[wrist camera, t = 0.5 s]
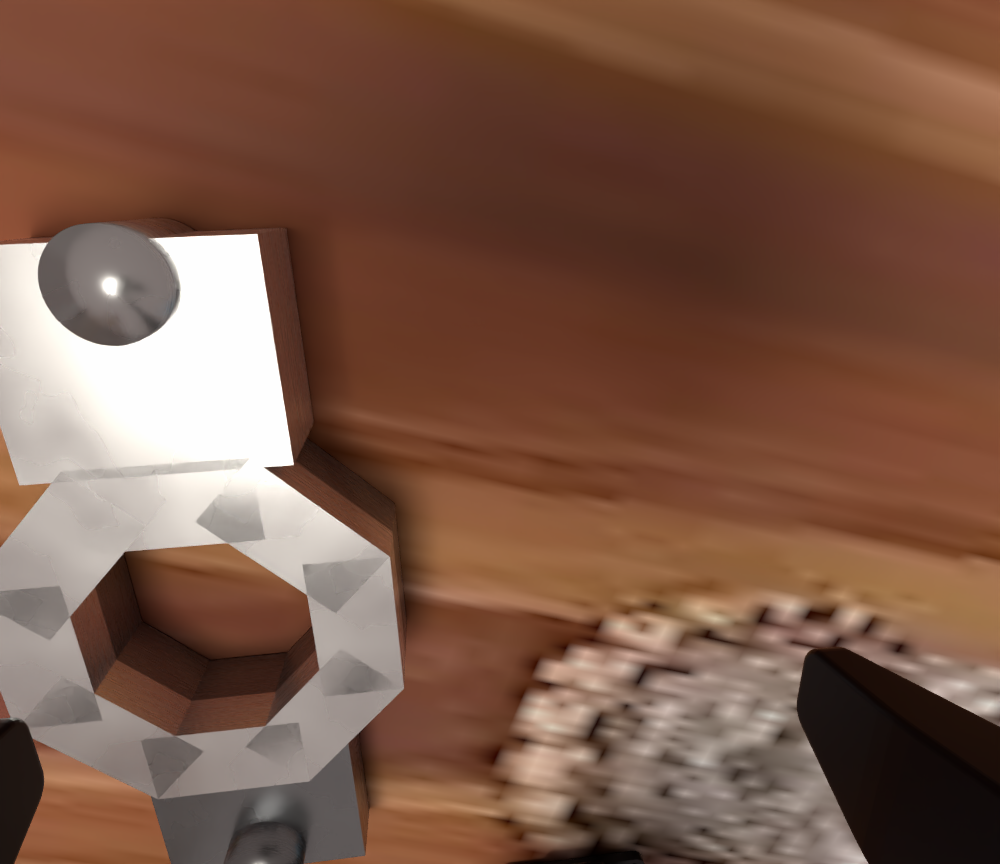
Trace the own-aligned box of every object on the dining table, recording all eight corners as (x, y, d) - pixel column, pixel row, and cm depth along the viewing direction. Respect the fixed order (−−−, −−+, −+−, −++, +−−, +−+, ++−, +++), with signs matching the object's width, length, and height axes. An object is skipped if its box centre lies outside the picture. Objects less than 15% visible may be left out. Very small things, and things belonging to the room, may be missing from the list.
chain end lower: (425, 809, 27) (426, 885, 24) (136, 845, 26) (99, 929, 23) (385, 408, 21) (378, 444, 18) (4, 434, 20) (-71, 476, 17)
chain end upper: (414, 693, 25) (412, 781, 21) (98, 727, 24) (38, 826, 20) (365, 209, 19) (351, 213, 15) (-64, 226, 18) (-194, 234, 14)
